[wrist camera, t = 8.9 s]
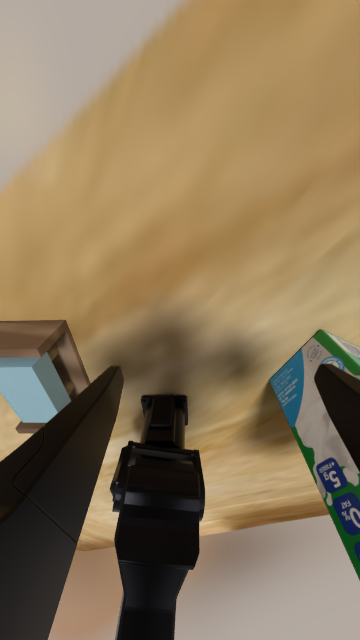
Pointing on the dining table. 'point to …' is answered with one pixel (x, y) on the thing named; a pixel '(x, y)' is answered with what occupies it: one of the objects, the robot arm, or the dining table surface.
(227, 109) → the dining table surface
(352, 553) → the milk carton
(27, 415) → the block
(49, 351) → the cradle
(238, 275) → the dining table surface
